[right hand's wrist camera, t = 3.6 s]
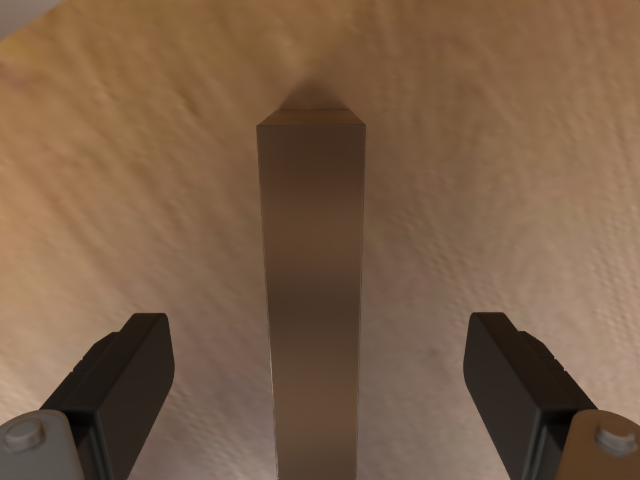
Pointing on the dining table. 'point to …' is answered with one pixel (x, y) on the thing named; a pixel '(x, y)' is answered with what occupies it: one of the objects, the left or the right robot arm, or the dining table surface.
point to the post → (313, 285)
